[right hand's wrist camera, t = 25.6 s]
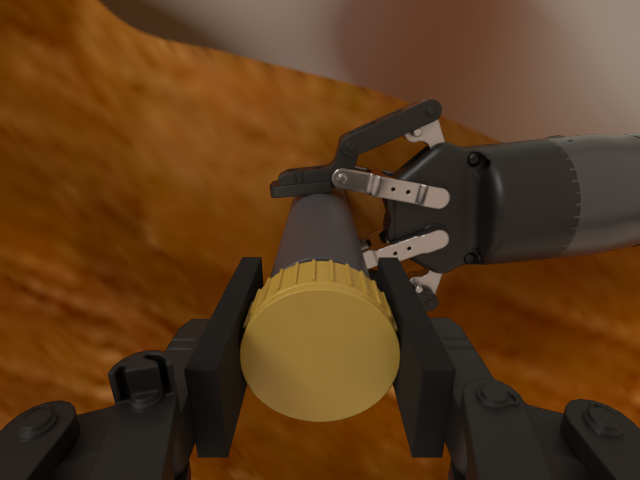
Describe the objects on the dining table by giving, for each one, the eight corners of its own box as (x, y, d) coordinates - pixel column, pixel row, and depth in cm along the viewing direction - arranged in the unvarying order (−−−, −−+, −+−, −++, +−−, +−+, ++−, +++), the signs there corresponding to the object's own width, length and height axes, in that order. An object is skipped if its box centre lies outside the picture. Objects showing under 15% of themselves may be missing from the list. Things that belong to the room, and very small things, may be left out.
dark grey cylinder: (350, 177, 28) (398, 291, 11) (340, 226, 30) (369, 396, 12) (298, 168, 28) (263, 269, 11) (291, 218, 30) (248, 380, 12)
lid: (264, 242, 11) (254, 268, 9) (410, 277, 12) (427, 308, 10) (238, 364, 13) (224, 407, 11) (366, 391, 13) (374, 436, 11)
